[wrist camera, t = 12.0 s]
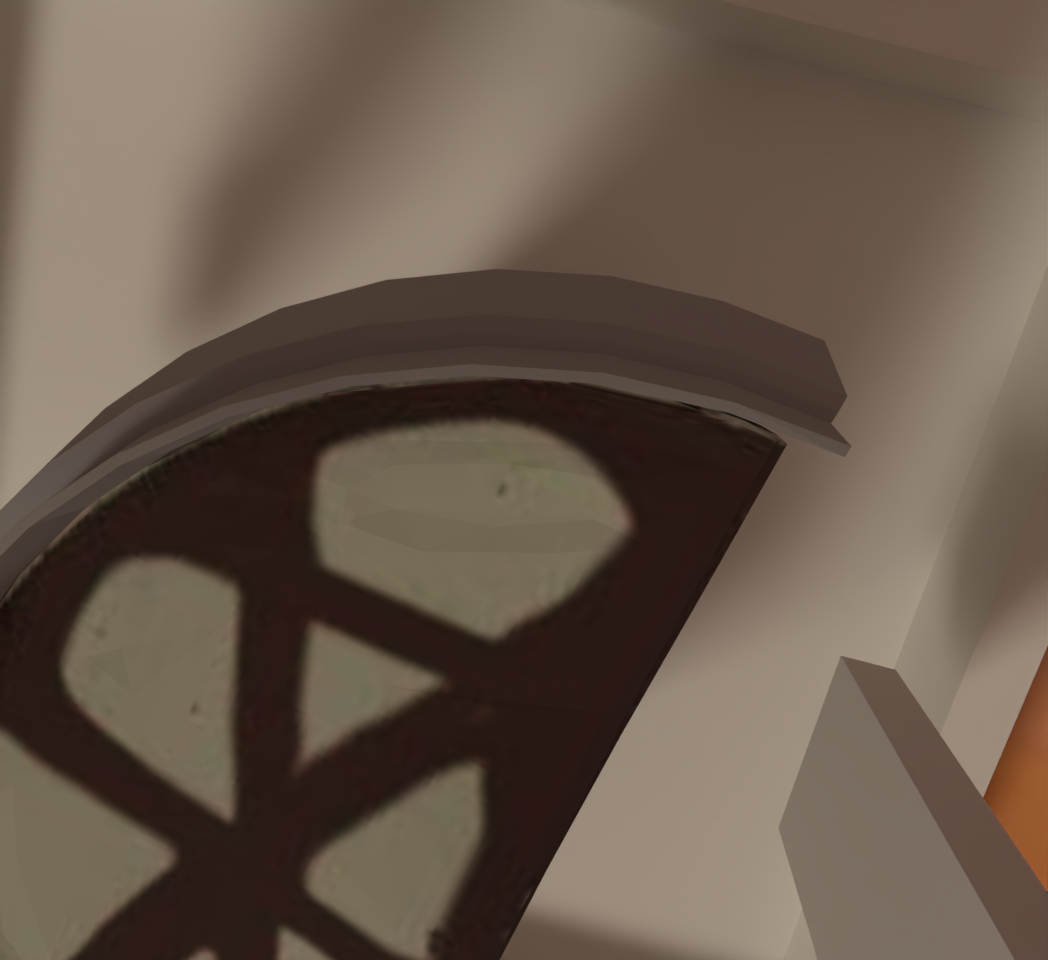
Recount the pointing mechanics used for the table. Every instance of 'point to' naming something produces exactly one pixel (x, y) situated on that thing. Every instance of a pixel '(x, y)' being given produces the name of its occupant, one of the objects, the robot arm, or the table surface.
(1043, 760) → the table surface
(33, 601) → the grey brown half-round piece
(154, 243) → the tray
